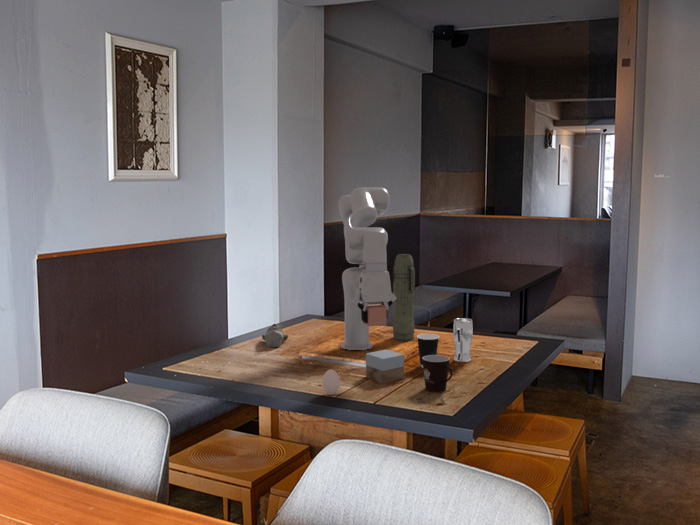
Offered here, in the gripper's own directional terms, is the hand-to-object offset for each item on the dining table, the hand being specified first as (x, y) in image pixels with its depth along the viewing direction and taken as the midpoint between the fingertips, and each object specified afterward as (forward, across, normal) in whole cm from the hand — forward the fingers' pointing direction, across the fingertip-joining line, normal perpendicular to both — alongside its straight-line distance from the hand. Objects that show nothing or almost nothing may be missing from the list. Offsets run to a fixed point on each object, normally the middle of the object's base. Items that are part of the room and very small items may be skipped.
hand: (374, 321), depth 235 cm
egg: (+20, -19, -12) cm, 30 cm away
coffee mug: (+20, +13, -20) cm, 31 cm away
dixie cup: (+20, +23, +7) cm, 31 cm away
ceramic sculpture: (+20, -18, +59) cm, 65 cm away
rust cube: (+1, 0, 0) cm, 1 cm away
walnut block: (+20, +4, -1) cm, 20 cm away
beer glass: (+20, +39, +10) cm, 45 cm away
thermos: (+20, +34, +50) cm, 64 cm away
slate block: (+15, +3, -1) cm, 16 cm away
